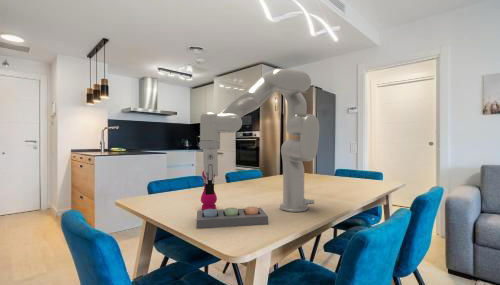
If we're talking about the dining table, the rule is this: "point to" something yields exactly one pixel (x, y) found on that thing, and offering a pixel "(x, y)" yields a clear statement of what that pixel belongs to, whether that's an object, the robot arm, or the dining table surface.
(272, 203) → the dining table surface
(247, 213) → the terracotta button
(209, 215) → the blue button
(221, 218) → the button panel
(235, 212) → the sage button
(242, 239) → the dining table surface
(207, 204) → the pepper mill
